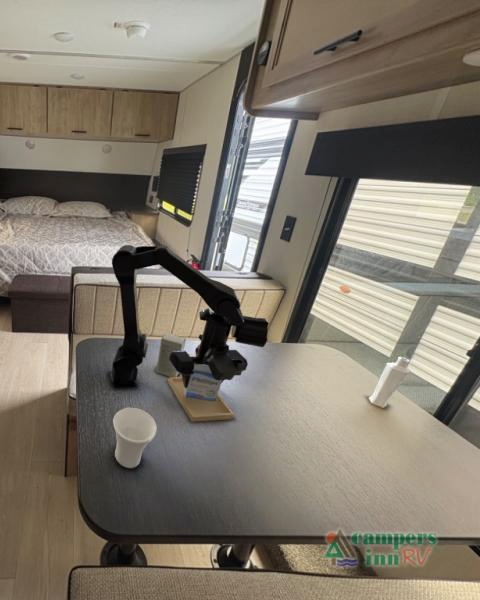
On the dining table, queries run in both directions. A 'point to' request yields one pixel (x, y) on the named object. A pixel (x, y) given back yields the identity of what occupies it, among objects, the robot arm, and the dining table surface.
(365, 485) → the dining table surface
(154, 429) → the cup
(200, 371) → the medicine box
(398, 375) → the perfume bottle
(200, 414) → the holder
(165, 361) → the cosmetic box
